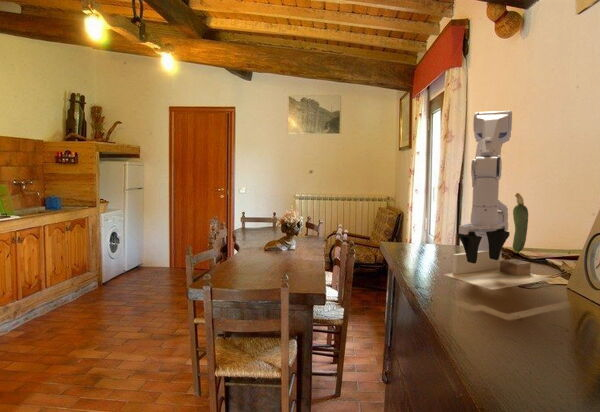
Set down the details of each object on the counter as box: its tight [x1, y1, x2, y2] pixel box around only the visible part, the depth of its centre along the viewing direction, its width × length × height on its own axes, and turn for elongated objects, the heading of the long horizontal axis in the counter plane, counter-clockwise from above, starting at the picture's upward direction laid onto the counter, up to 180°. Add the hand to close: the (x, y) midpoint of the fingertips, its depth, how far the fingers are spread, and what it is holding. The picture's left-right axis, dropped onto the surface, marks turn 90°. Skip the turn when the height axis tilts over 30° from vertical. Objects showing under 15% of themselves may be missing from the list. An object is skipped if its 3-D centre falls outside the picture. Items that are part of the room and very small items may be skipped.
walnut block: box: [500, 258, 532, 276], centre depth 109 cm, size 5×5×3 cm
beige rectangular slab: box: [452, 250, 502, 274], centre depth 111 cm, size 1×16×5 cm, turn 115°
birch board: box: [443, 268, 553, 291], centre depth 105 cm, size 15×21×1 cm
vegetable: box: [512, 192, 529, 254], centre depth 136 cm, size 4×4×20 cm
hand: (482, 260), depth 104 cm, fingers open, 7 cm apart
